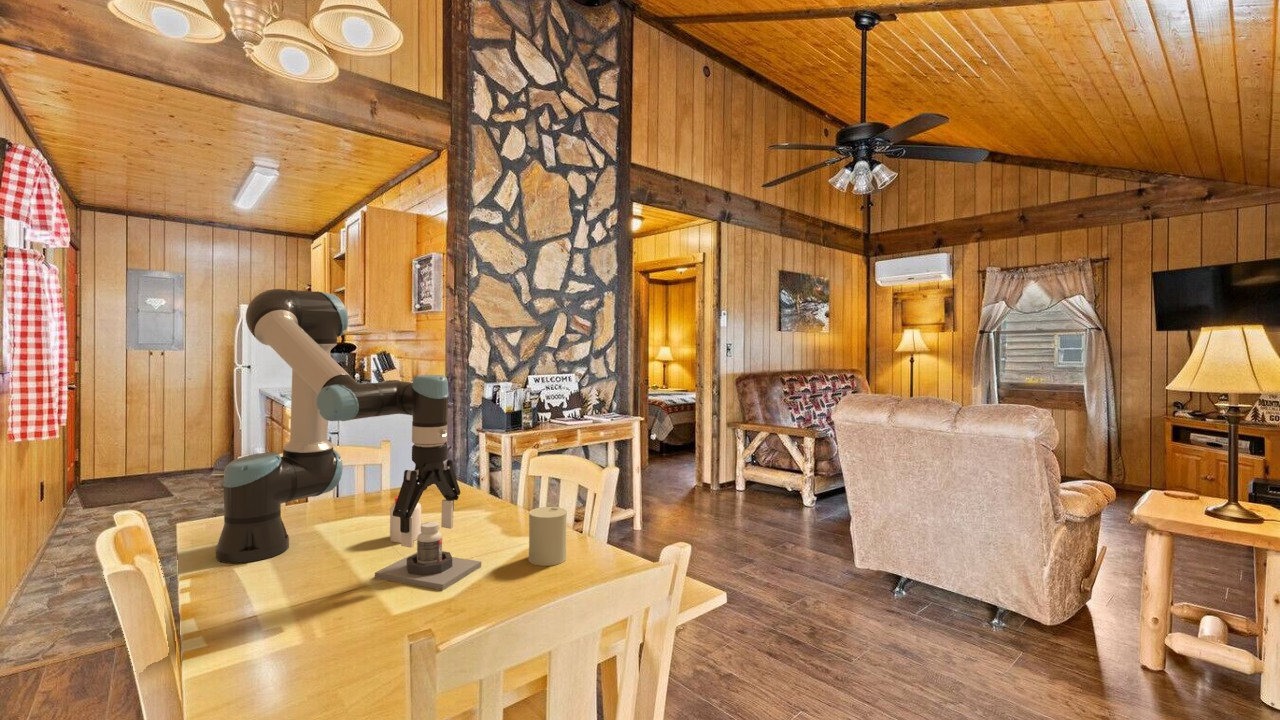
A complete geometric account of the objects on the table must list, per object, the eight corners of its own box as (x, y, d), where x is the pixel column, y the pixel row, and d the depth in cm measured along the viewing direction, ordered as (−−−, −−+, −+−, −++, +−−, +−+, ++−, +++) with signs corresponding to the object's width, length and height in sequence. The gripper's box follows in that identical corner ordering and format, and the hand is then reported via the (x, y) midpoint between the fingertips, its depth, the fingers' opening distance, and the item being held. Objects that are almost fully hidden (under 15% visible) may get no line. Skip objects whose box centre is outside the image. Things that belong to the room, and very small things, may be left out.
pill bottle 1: (383, 540, 156) (383, 498, 156) (405, 531, 163) (405, 491, 163) (406, 544, 153) (406, 502, 153) (427, 535, 160) (427, 494, 160)
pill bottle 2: (444, 568, 135) (445, 525, 134) (420, 573, 132) (420, 529, 131) (438, 560, 139) (438, 519, 139) (414, 565, 136) (414, 522, 136)
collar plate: (374, 577, 132) (374, 563, 132) (417, 556, 145) (417, 543, 145) (443, 590, 126) (443, 575, 126) (481, 566, 139) (481, 553, 139)
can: (573, 555, 147) (574, 507, 147) (553, 568, 139) (553, 517, 138) (542, 549, 151) (542, 502, 150) (520, 561, 142) (520, 512, 142)
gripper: (404, 455, 121) (403, 557, 122) (476, 436, 145) (474, 522, 146) (375, 451, 124) (374, 552, 125) (450, 434, 147) (448, 518, 148)
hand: (428, 536), depth 135 cm, fingers open, 13 cm apart
